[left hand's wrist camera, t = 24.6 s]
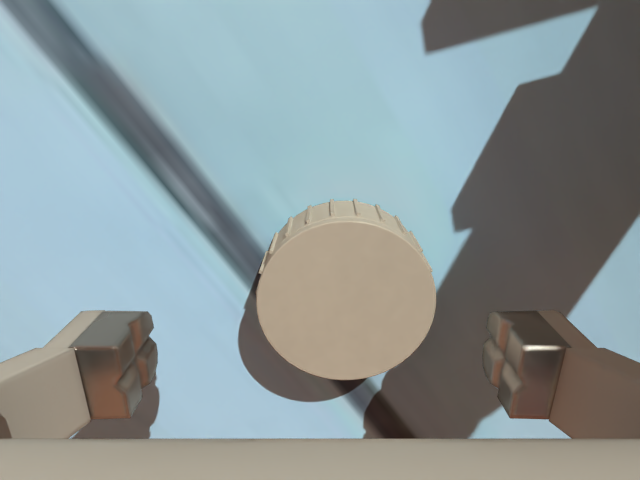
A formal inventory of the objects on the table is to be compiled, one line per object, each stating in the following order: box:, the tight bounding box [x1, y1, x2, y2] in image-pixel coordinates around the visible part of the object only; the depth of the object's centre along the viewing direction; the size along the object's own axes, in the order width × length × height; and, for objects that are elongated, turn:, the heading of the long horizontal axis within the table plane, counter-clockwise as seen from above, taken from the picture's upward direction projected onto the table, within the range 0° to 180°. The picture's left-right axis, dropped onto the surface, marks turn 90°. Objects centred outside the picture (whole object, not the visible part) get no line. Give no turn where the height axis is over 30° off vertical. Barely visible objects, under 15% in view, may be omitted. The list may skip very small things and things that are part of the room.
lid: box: [256, 199, 436, 380], centre depth 12 cm, size 5×5×2 cm
